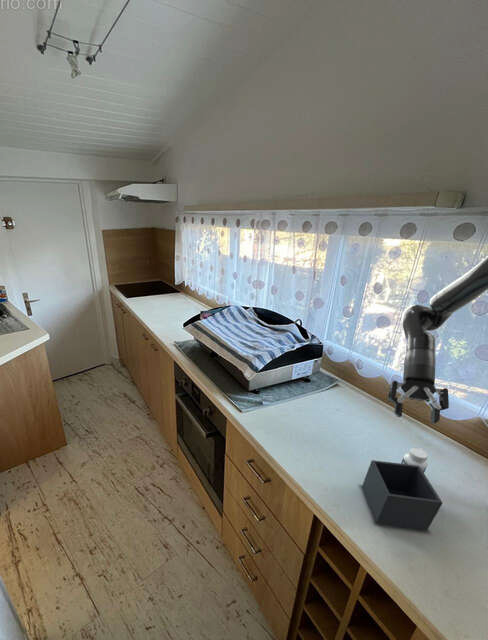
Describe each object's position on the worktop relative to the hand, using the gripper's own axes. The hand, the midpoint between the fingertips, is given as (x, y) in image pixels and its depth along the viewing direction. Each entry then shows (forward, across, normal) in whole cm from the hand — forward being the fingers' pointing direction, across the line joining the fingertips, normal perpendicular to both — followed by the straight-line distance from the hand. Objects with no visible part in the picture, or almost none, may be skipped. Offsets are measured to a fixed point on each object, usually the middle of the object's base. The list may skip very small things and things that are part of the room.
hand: (416, 419), depth 87 cm
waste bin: (+25, -6, -5) cm, 26 cm away
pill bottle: (+17, 0, +4) cm, 17 cm away
